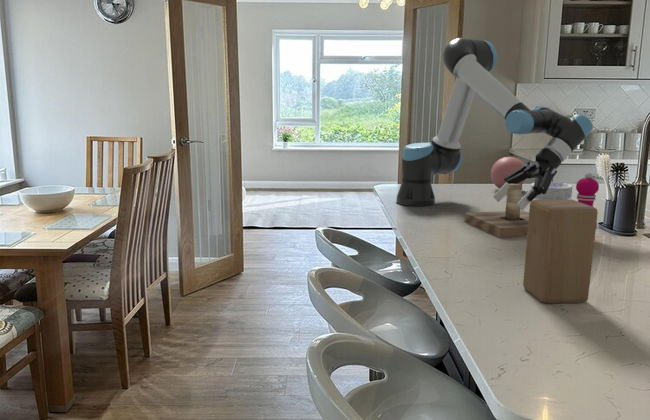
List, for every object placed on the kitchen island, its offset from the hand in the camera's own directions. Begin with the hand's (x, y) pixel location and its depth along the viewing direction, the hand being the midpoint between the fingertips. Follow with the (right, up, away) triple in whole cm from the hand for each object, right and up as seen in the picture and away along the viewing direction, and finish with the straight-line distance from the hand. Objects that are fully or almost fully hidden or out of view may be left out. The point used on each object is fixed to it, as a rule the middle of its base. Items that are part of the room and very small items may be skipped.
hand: (507, 203), depth 172 cm
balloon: (+27, +6, +73) cm, 78 cm away
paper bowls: (+31, 0, +42) cm, 53 cm away
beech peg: (+2, -8, +2) cm, 8 cm away
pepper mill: (+18, -11, -12) cm, 25 cm away
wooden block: (-10, -21, -58) cm, 62 cm away
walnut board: (+2, -8, +2) cm, 8 cm away
